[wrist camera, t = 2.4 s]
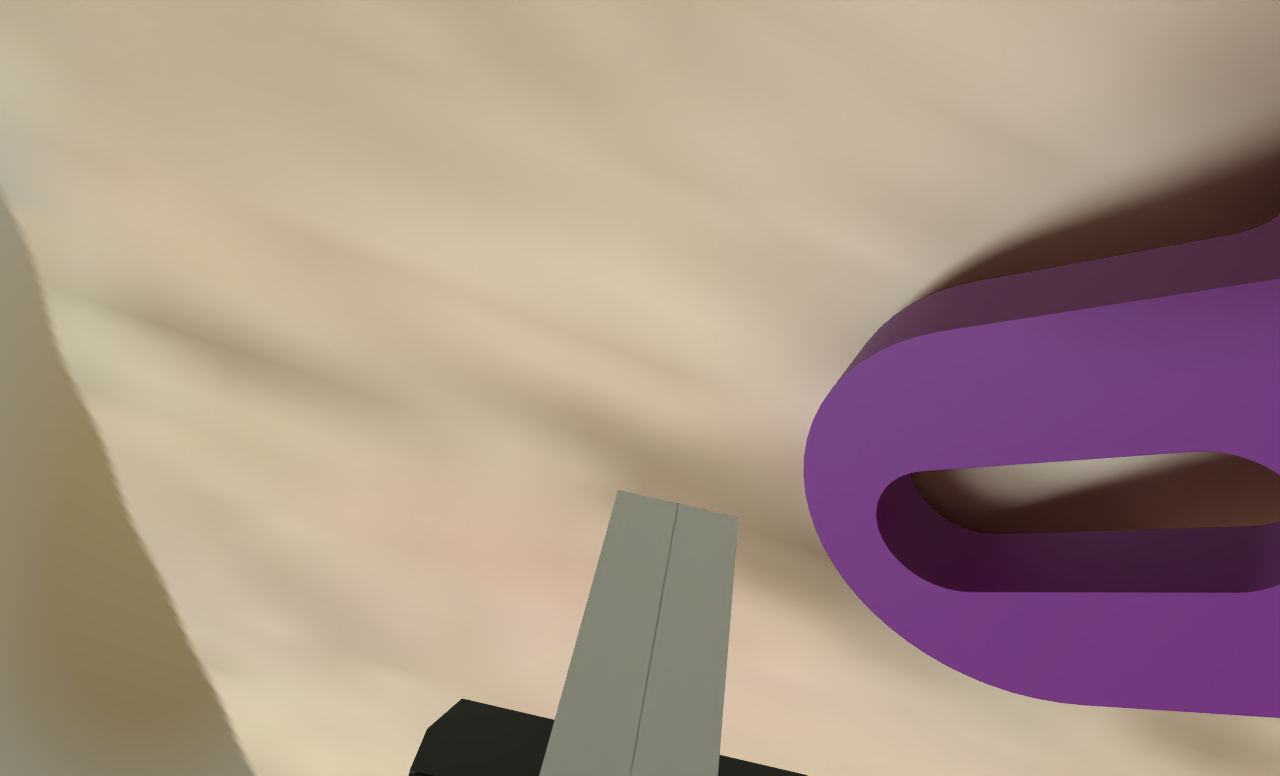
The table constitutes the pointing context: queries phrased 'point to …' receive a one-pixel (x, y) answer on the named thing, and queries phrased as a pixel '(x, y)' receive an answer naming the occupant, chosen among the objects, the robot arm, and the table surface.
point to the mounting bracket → (1063, 431)
